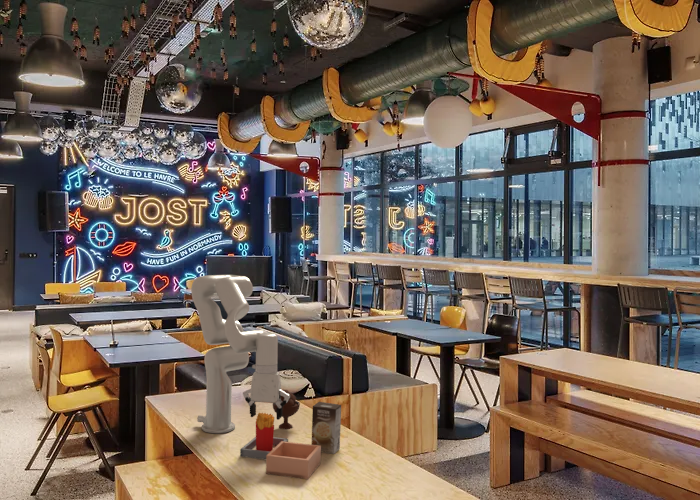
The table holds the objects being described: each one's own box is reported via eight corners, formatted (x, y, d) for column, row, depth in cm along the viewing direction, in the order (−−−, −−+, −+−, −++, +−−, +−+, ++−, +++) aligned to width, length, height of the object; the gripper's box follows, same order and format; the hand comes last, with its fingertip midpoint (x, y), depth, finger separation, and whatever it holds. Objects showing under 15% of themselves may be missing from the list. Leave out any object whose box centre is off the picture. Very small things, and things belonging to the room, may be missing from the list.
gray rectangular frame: (240, 456, 215) (240, 449, 215) (257, 442, 230) (257, 435, 230) (273, 460, 212) (273, 453, 212) (288, 445, 227) (288, 438, 227)
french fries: (252, 448, 223) (253, 412, 223) (262, 446, 226) (263, 410, 225) (266, 456, 216) (267, 418, 216) (277, 453, 219) (277, 416, 218)
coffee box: (310, 450, 222) (311, 405, 222) (317, 444, 228) (318, 401, 228) (334, 454, 219) (335, 409, 219) (340, 448, 225) (341, 404, 225)
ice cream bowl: (295, 432, 241) (296, 393, 241) (267, 429, 244) (268, 391, 243) (302, 424, 252) (303, 387, 251) (276, 421, 254) (277, 385, 253)
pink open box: (265, 473, 201) (266, 455, 200) (281, 458, 214) (281, 441, 214) (307, 479, 197) (308, 460, 197) (320, 463, 211) (320, 445, 211)
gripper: (239, 369, 218) (238, 418, 219) (286, 372, 214) (285, 422, 214) (247, 365, 226) (247, 412, 226) (293, 368, 221) (292, 416, 222)
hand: (266, 417), depth 220 cm, fingers open, 9 cm apart
